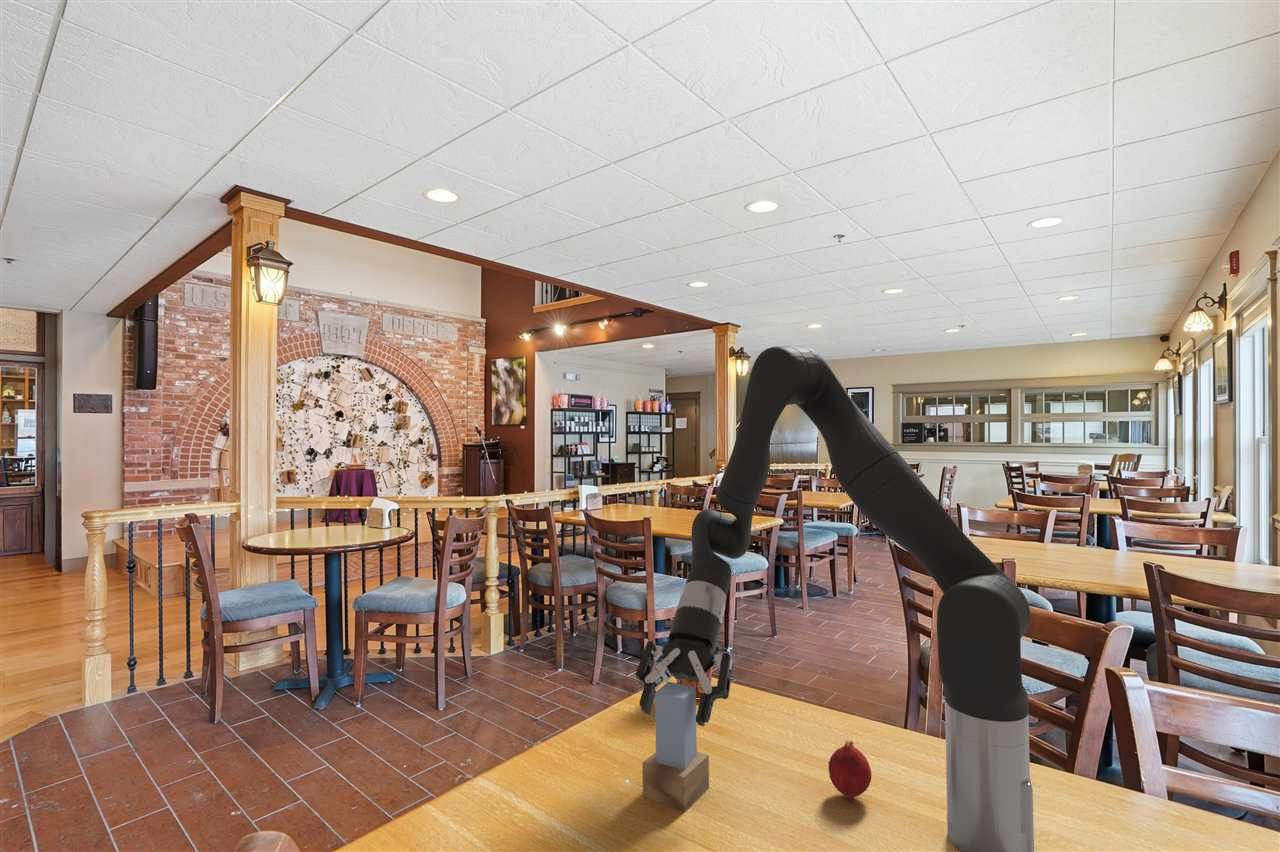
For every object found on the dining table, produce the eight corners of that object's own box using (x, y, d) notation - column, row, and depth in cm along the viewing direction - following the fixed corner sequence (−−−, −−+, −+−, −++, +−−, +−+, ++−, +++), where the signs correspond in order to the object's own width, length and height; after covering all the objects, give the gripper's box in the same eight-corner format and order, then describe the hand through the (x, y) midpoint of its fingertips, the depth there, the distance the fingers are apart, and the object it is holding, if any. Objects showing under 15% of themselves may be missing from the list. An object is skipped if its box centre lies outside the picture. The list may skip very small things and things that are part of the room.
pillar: (696, 754, 91) (695, 686, 91) (685, 770, 87) (683, 698, 87) (668, 748, 93) (667, 681, 93) (656, 762, 89) (654, 693, 89)
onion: (875, 812, 85) (873, 753, 85) (831, 807, 86) (830, 749, 86) (868, 788, 90) (867, 733, 90) (827, 784, 91) (826, 729, 92)
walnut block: (709, 789, 91) (708, 755, 91) (684, 813, 85) (684, 777, 85) (668, 775, 95) (668, 742, 95) (642, 797, 89) (642, 762, 89)
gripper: (651, 599, 100) (619, 698, 90) (736, 609, 94) (712, 716, 84) (665, 623, 105) (636, 719, 95) (746, 634, 99) (725, 738, 88)
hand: (671, 718), depth 89 cm, fingers open, 8 cm apart
